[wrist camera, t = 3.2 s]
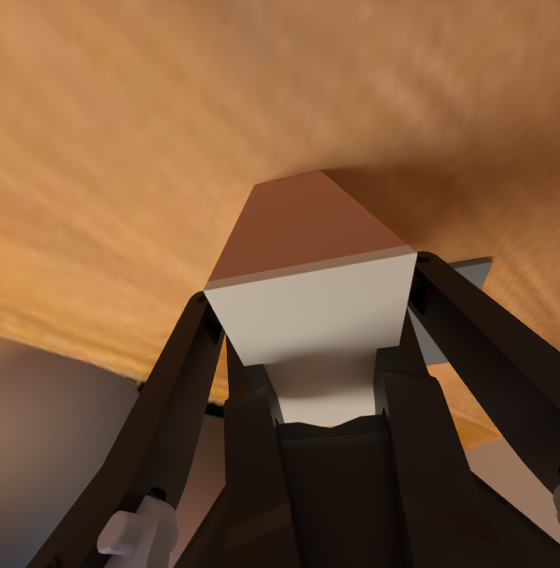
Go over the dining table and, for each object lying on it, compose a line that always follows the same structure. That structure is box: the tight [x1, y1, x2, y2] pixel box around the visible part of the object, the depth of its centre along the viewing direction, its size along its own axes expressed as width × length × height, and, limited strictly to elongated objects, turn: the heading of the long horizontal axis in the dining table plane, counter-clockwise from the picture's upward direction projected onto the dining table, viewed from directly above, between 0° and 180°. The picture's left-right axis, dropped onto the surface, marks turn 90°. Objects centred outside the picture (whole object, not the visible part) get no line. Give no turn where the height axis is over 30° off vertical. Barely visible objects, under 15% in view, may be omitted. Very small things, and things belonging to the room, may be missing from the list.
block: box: [203, 170, 417, 427], centre depth 13 cm, size 9×5×13 cm, turn 12°
